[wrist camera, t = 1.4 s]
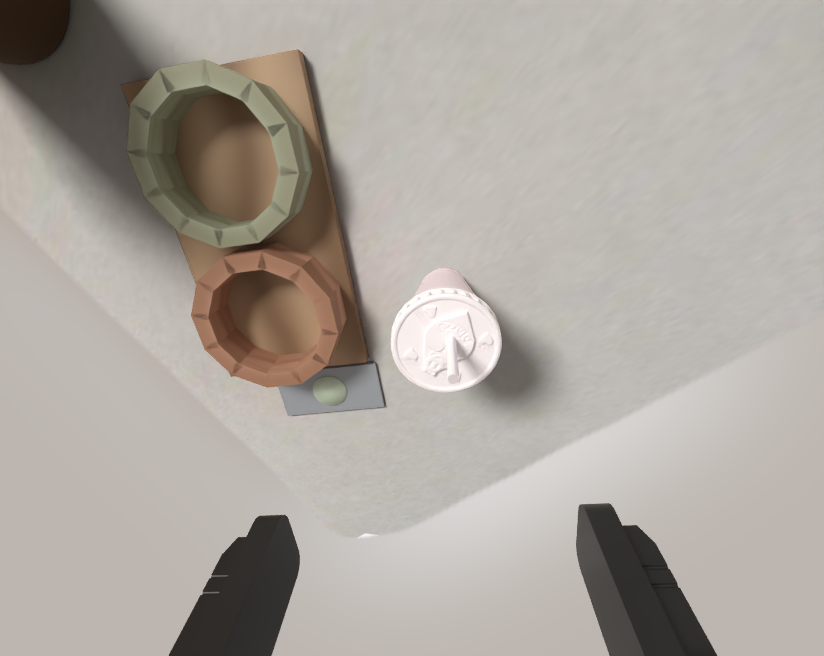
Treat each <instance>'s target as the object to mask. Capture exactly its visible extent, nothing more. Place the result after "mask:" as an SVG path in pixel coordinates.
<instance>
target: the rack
mask: <svg viewBox="0 0 824 656" xmlns="http://www.w3.org/2000/svg"><path fill="white" fill-rule="evenodd" d="M121 87H122V89H123V92H124V95H125V97H126V100H127V103H128V105H129V108H130V116H129V127H128V139H127V151H126V152H127V154H128V157H129V159H130V162H131V164H132V167H133V169H134V172H135V174H136V177H137V179H138V182H139V184H140V187H141V189H142V192H143V195H144V197H145V199H146V200H147V201H148V202H149V203H150V204H151V205H152V206H153V207H154V208H155V209H156V210H157V211H158V212H159V213H160V214H161V215H162V216H163V217H164V218H165V219H166V220H167V221H168V222H169V223H170V224H171V225H172V226H173V227H174V228H175V230H176V232H177V235H178V238H179V240H180V243H181V246H182V248H183V251H184V254H185V256H186V259H187V262H188V264H189V267H190V270H191V272H192V275H193V277H194V280H195V283H196V290H195V296H194V302H193V308H192V313H191V316H192V319H193V321H194V324H195V326H196V329H197V331H198V334H199V336H200V339H201V341H202V344H203V346H204V349H205V350H206V351H207V352H208V353H209V354H210V355H211V356H212V357H214V358H215V359H216V360H217V361H218V362H219V363H220V364H221V365H222V366H223V367H224V368H225V369H226V370H227V371H229V373H230V375H231V377H232V376H237V377H239V378H242V379H245V380H248V381H251V382H253V383H256V384H259V385H262V386H265V387H276V386H286V385H296V384H302V383H303V382H305V381H306V380H308V379H309V378H310V377H312V376H313V375H314V374H316V373H317V372H319V371H320V370H321V369H323V368H324V367H327V366H337V365H346V364H356V363H365V362H367V360H368V357H369V356H368V352H367V347H366V343H365V338H364V333H363V329H362V324H361V319H360V315H359V310H358V306H357V301H356V296H355V292H354V287H353V283H352V278H351V273H350V269H349V264H348V259H347V255H346V250H345V246H344V241H343V236H342V232H341V227H340V223H339V218H338V213H337V209H336V204H335V199H334V195H333V190H332V186H331V181H330V176H329V172H328V167H327V163H326V158H325V153H324V149H323V144H322V139H321V135H320V130H319V126H318V121H317V116H316V112H315V107H314V103H313V98H312V93H311V89H310V84H309V80H308V75H307V70H306V66H305V61H304V56H303V53H302V52H301V51H299V50H293V51H287V52H282V53H277V54H272V55H267V56H262V57H257V58H252V59H247V60H242V61H237V62H232V63H227V64H222V65H217V64H215V63H212V62H209V61H207V60H200V61H195V62H190V63H185V64H180V65H175V66H170V67H165V68H160V69H158V70H157V71H156V73H155V74H154V75H153V76H152V78H151V79H146V80H141V81H136V82H131V83H126V84H121Z"/></svg>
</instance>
